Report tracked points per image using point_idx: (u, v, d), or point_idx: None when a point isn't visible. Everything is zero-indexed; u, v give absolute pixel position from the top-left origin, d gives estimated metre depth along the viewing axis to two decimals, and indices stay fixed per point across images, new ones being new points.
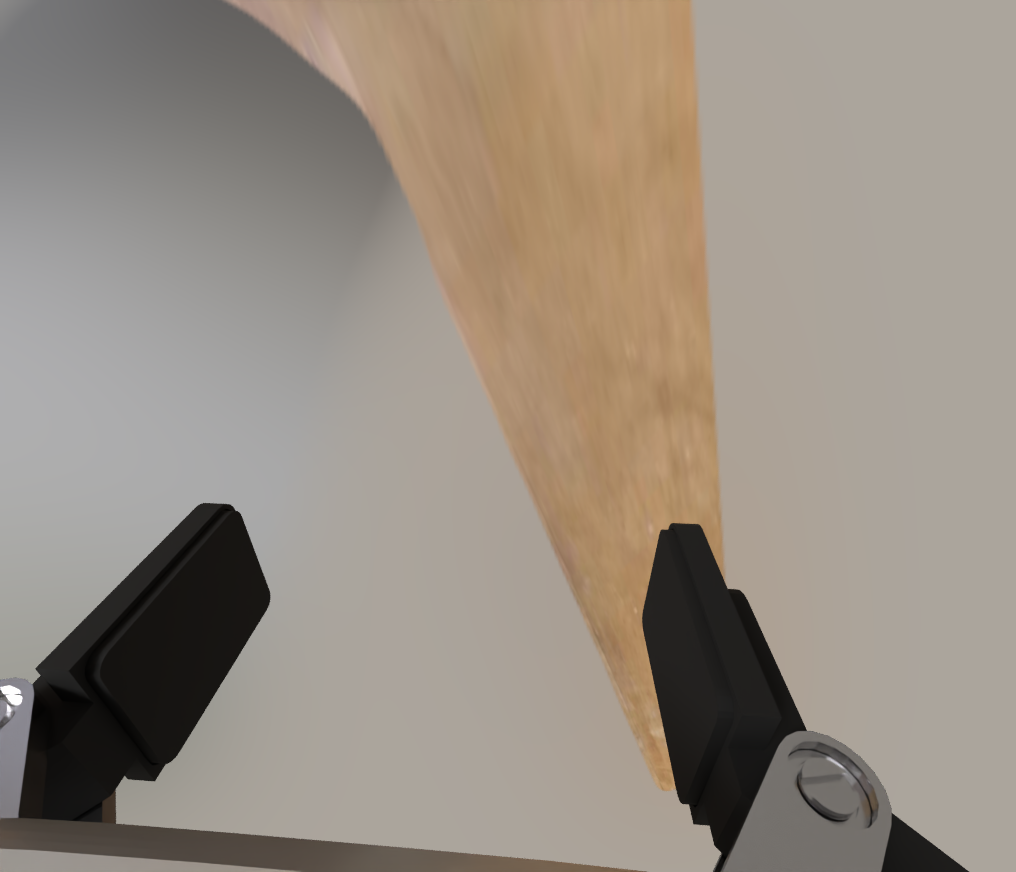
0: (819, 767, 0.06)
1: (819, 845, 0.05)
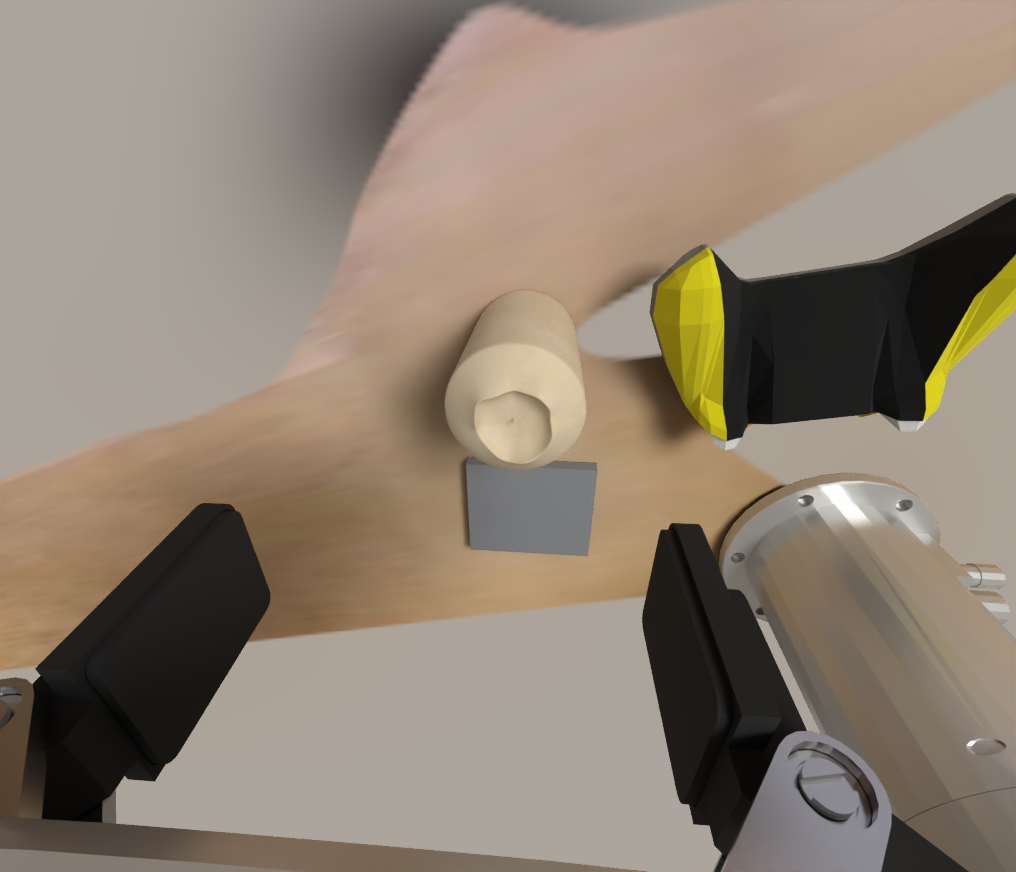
0: (819, 767, 0.06)
1: (819, 845, 0.05)
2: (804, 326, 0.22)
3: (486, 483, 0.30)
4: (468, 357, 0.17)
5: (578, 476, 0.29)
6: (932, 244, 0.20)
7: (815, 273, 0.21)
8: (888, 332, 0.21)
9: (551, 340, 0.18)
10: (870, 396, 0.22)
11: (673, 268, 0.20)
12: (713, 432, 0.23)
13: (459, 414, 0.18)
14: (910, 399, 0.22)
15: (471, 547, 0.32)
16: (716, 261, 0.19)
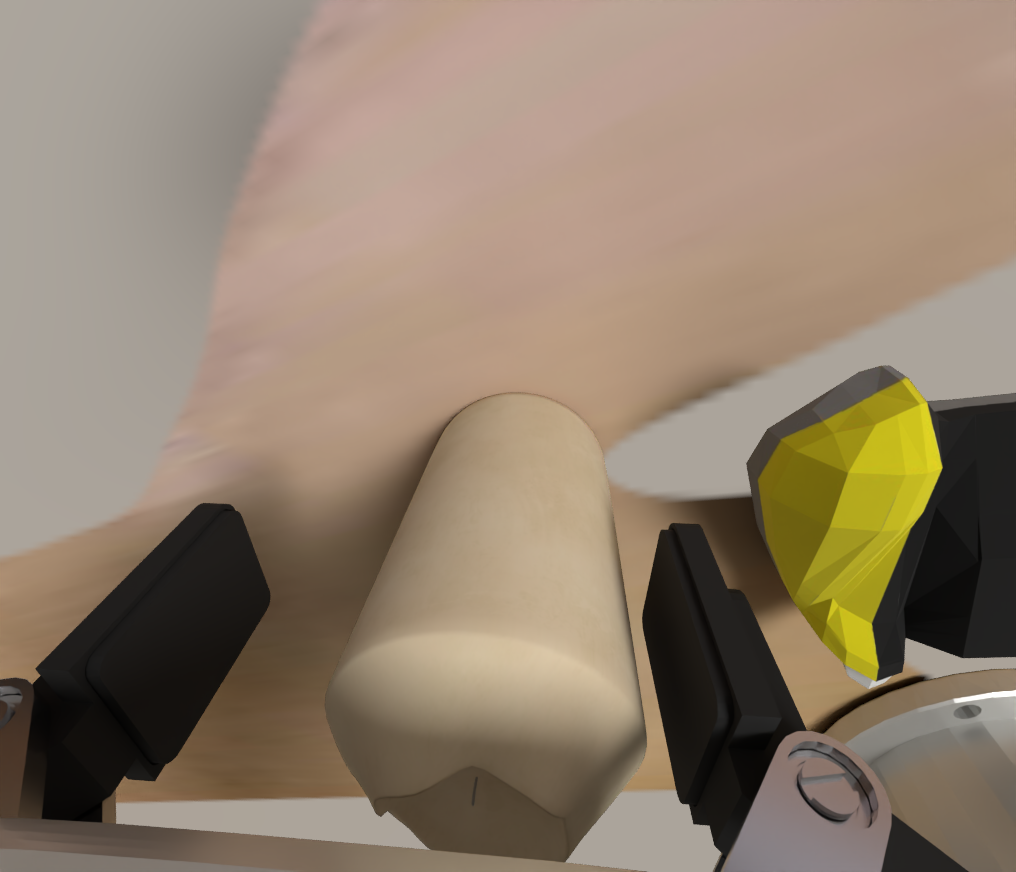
0: (819, 767, 0.06)
1: (819, 845, 0.05)
2: None
3: None
4: (367, 646, 0.07)
5: None
6: None
7: None
8: None
9: (565, 585, 0.08)
10: None
11: (820, 413, 0.09)
12: (850, 663, 0.13)
13: (350, 767, 0.08)
14: None
15: None
16: (930, 414, 0.08)
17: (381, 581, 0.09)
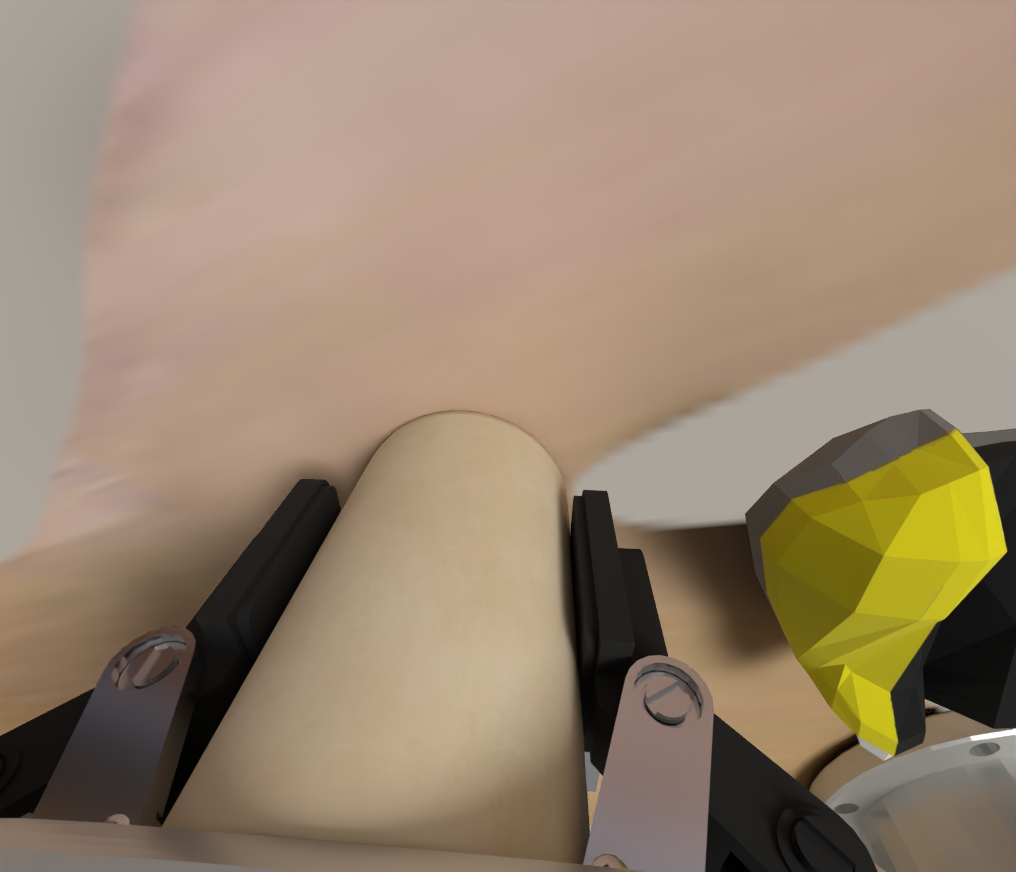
0: (658, 684, 0.07)
1: (644, 738, 0.06)
2: None
3: None
4: None
5: None
6: None
7: None
8: None
9: (480, 714, 0.06)
10: None
11: (843, 471, 0.07)
12: (865, 735, 0.11)
13: None
14: None
15: None
16: (991, 480, 0.06)
17: (238, 697, 0.06)
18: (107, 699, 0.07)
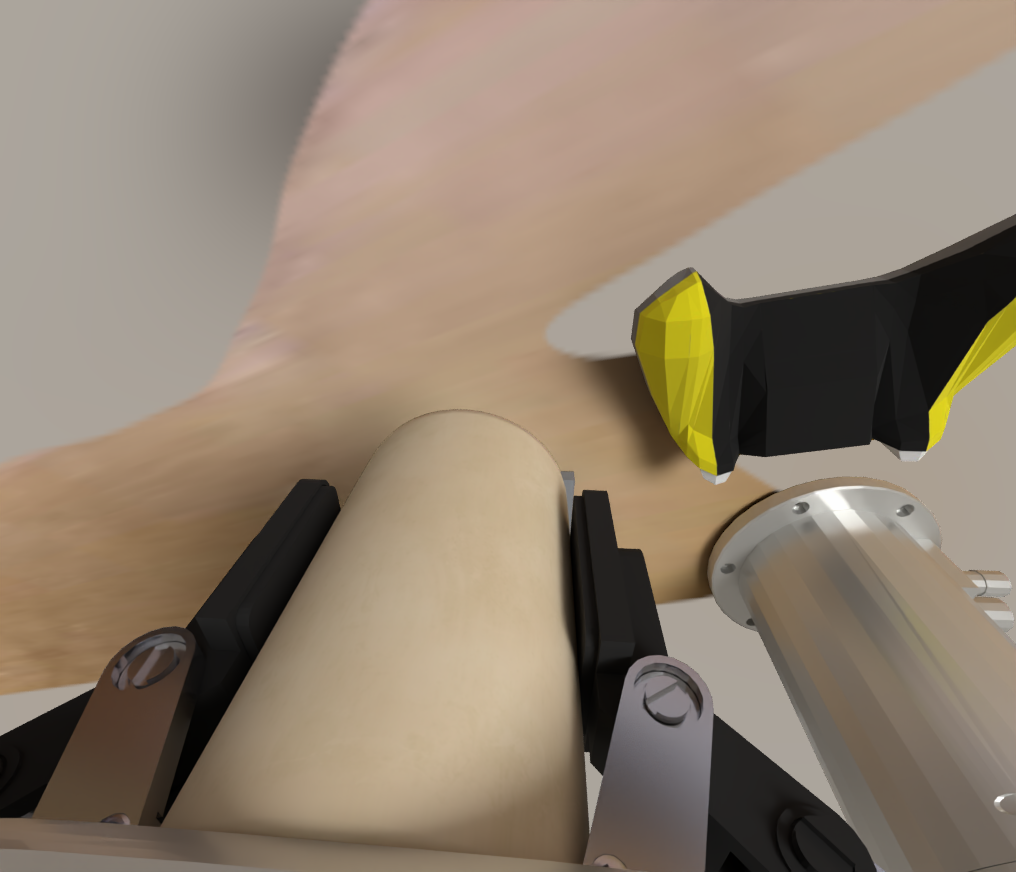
0: (658, 684, 0.07)
1: (644, 739, 0.06)
2: (800, 352, 0.20)
3: None
4: (178, 828, 0.05)
5: None
6: (939, 263, 0.18)
7: (811, 293, 0.19)
8: (889, 357, 0.20)
9: (481, 711, 0.06)
10: (870, 426, 0.20)
11: (656, 295, 0.17)
12: (702, 466, 0.21)
13: None
14: (912, 427, 0.20)
15: None
16: (705, 288, 0.16)
17: (239, 694, 0.06)
18: (107, 699, 0.07)
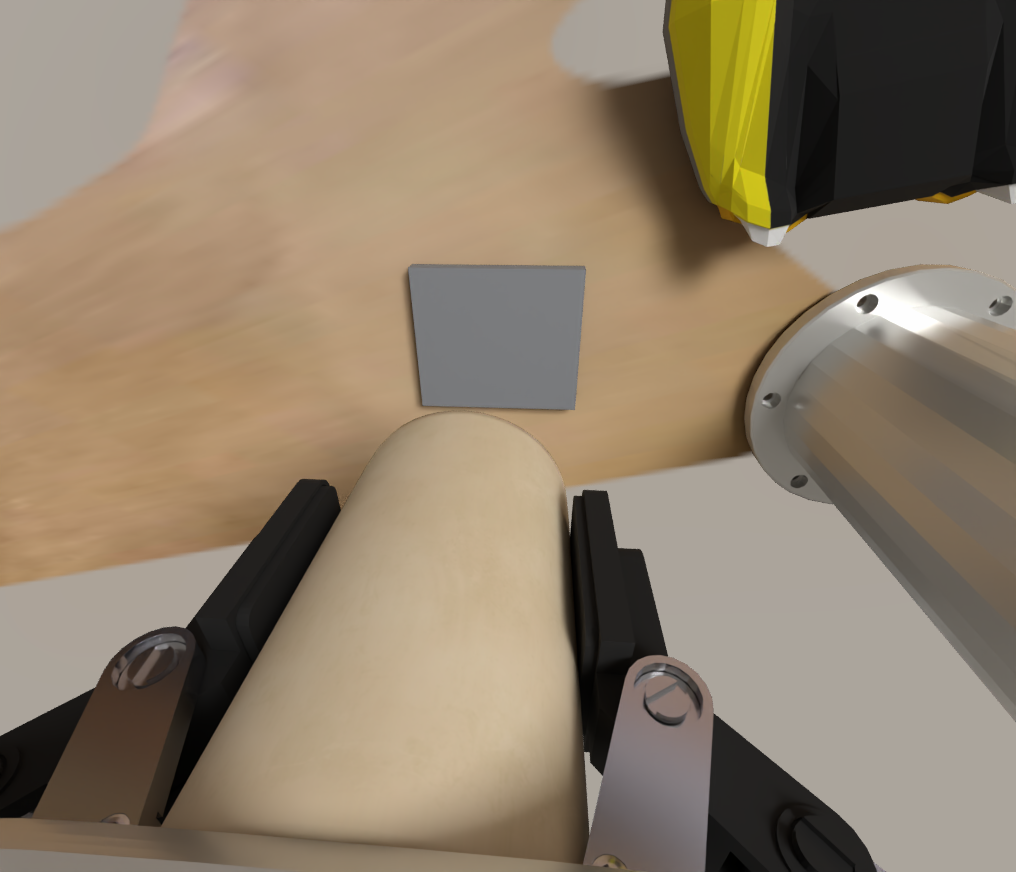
0: (658, 684, 0.07)
1: (644, 739, 0.06)
2: (883, 40, 0.15)
3: (438, 298, 0.22)
4: None
5: (560, 281, 0.21)
6: None
7: None
8: (1002, 46, 0.15)
9: (480, 715, 0.06)
10: (974, 145, 0.16)
11: None
12: (751, 217, 0.17)
13: None
14: None
15: (423, 402, 0.25)
16: None
17: (237, 697, 0.06)
18: (107, 699, 0.07)
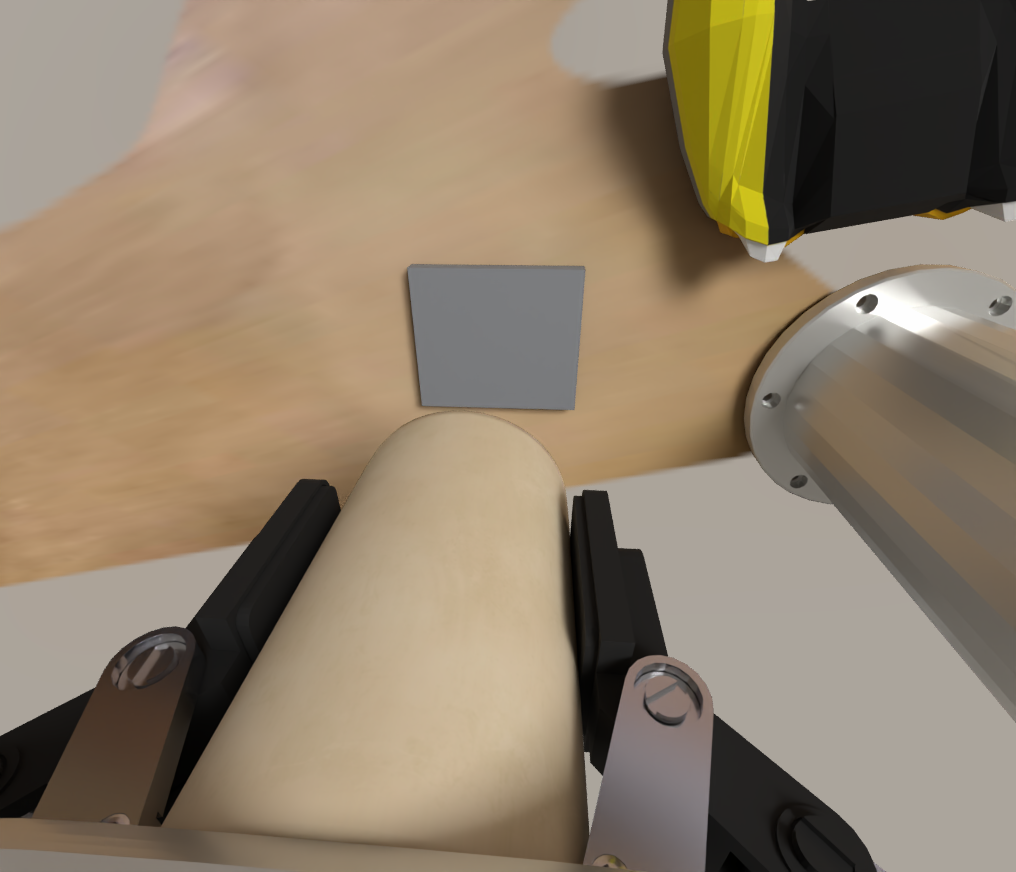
0: (658, 684, 0.07)
1: (644, 739, 0.06)
2: (879, 61, 0.15)
3: (437, 298, 0.22)
4: None
5: (560, 281, 0.21)
6: None
7: None
8: (995, 68, 0.15)
9: (480, 714, 0.06)
10: (968, 164, 0.16)
11: None
12: (749, 233, 0.17)
13: None
14: None
15: (423, 402, 0.25)
16: None
17: (237, 697, 0.06)
18: (107, 699, 0.07)
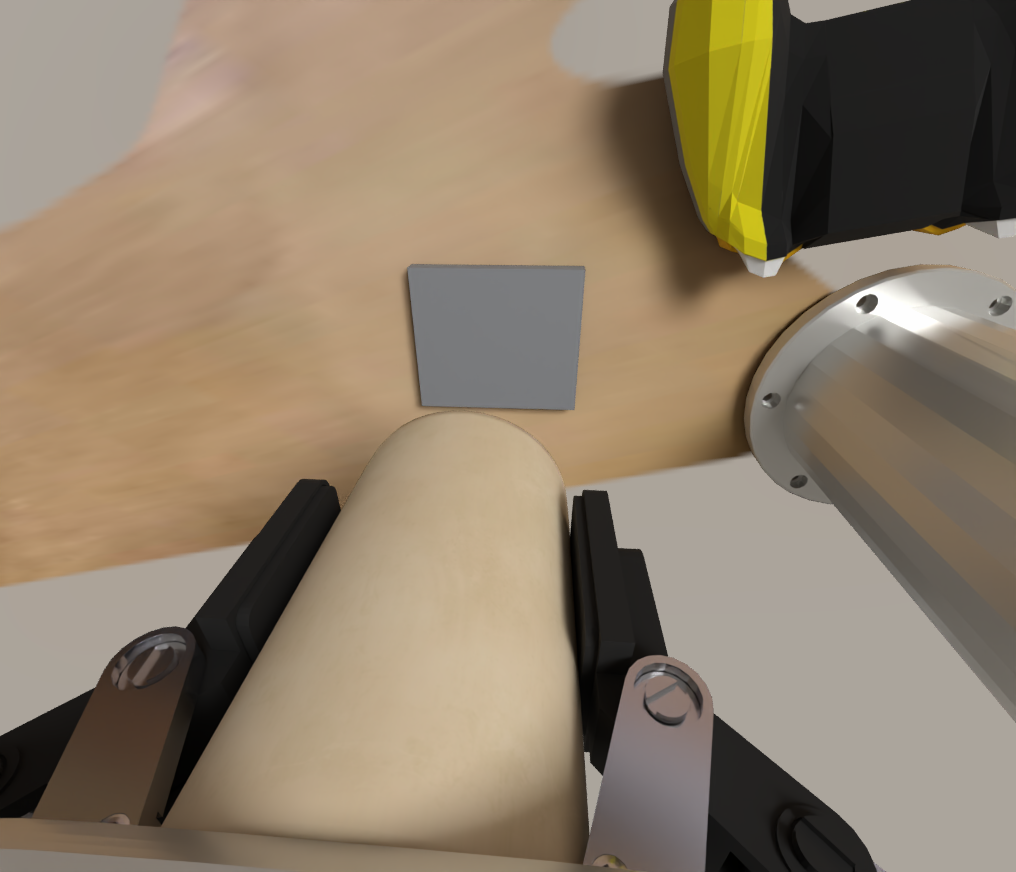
0: (658, 684, 0.07)
1: (644, 739, 0.06)
2: (875, 82, 0.16)
3: (437, 298, 0.22)
4: None
5: (560, 281, 0.21)
6: None
7: (891, 5, 0.15)
8: (989, 89, 0.16)
9: (480, 714, 0.06)
10: (963, 183, 0.16)
11: None
12: (748, 249, 0.17)
13: None
14: None
15: (423, 402, 0.25)
16: None
17: (237, 697, 0.06)
18: (107, 699, 0.07)
